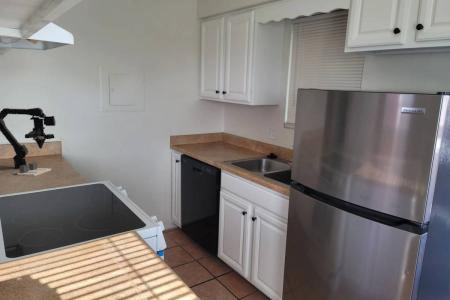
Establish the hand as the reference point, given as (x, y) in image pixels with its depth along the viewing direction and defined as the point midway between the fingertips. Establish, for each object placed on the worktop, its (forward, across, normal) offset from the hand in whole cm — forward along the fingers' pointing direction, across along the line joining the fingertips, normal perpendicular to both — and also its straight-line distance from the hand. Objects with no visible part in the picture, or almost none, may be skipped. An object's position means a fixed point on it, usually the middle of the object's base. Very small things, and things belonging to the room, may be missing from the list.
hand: (40, 148), depth 230 cm
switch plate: (+13, +7, -16) cm, 22 cm away
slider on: (+12, +3, -12) cm, 17 cm away
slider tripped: (+12, +2, -20) cm, 23 cm away
